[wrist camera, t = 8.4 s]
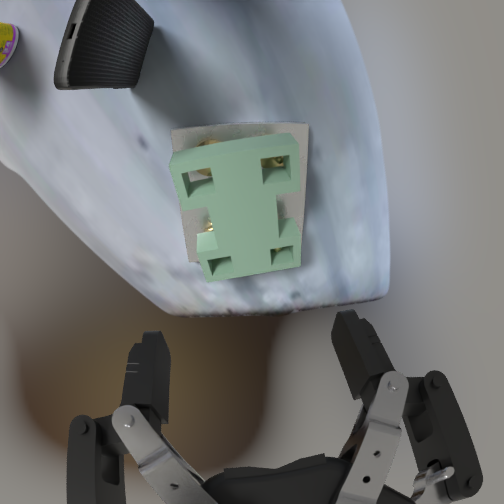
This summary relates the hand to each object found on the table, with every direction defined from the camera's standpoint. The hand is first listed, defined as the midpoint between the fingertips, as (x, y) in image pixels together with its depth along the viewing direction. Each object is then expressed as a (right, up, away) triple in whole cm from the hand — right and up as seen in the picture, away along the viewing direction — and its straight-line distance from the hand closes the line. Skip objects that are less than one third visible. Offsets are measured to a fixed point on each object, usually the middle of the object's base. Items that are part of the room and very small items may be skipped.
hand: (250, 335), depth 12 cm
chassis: (-1, +11, +19) cm, 21 cm away
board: (-1, +8, +15) cm, 17 cm away
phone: (-11, +24, +9) cm, 28 cm away
